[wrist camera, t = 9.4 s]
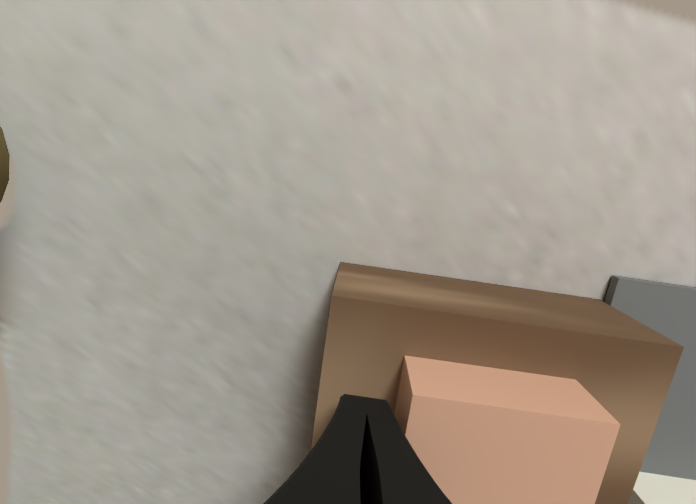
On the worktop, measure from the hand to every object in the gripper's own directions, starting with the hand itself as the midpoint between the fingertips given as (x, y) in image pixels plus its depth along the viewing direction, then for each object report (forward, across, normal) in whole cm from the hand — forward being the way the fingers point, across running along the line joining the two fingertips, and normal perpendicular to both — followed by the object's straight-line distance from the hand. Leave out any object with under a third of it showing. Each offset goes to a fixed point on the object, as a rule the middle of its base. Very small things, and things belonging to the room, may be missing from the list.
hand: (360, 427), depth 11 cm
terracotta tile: (+1, -4, 0) cm, 4 cm away
